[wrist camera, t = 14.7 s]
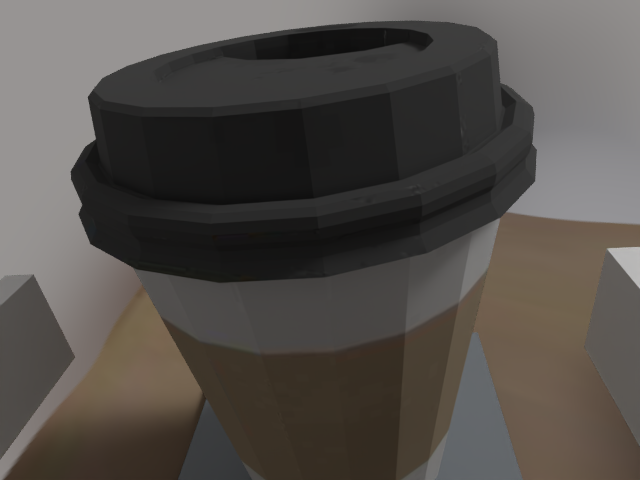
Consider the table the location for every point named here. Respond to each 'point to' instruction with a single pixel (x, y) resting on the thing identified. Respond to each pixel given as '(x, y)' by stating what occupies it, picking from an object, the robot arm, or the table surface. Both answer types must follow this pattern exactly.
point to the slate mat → (459, 452)
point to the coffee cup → (314, 229)
